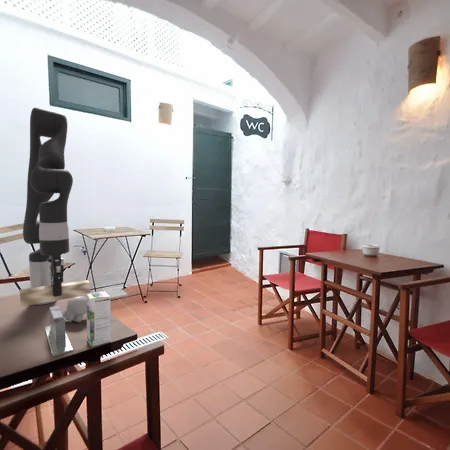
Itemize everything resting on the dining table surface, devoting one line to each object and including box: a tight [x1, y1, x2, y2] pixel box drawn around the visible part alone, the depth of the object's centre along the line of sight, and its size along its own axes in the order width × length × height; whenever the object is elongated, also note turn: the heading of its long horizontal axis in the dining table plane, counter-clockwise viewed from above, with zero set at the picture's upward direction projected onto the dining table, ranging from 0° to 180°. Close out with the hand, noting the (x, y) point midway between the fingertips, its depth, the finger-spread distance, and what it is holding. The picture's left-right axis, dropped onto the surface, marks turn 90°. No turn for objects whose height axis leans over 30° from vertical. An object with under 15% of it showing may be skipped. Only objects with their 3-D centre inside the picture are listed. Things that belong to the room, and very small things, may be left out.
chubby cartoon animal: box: [62, 296, 87, 323], centre depth 104 cm, size 7×12×8 cm, turn 129°
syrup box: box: [86, 291, 112, 348], centre depth 88 cm, size 6×6×14 cm
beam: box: [19, 279, 91, 307], centre depth 88 cm, size 18×3×4 cm, turn 127°
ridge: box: [44, 305, 74, 357], centre depth 89 cm, size 20×5×8 cm, turn 37°
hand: (56, 293), depth 88 cm, fingers closed on beam, 3 cm apart
